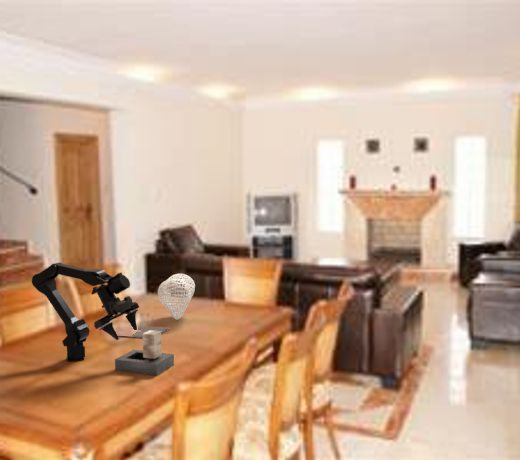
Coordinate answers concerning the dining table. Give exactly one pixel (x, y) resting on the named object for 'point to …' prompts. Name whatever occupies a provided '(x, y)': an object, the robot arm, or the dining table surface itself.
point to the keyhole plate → (143, 363)
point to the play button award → (147, 328)
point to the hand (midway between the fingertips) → (127, 334)
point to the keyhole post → (152, 344)
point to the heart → (165, 294)
